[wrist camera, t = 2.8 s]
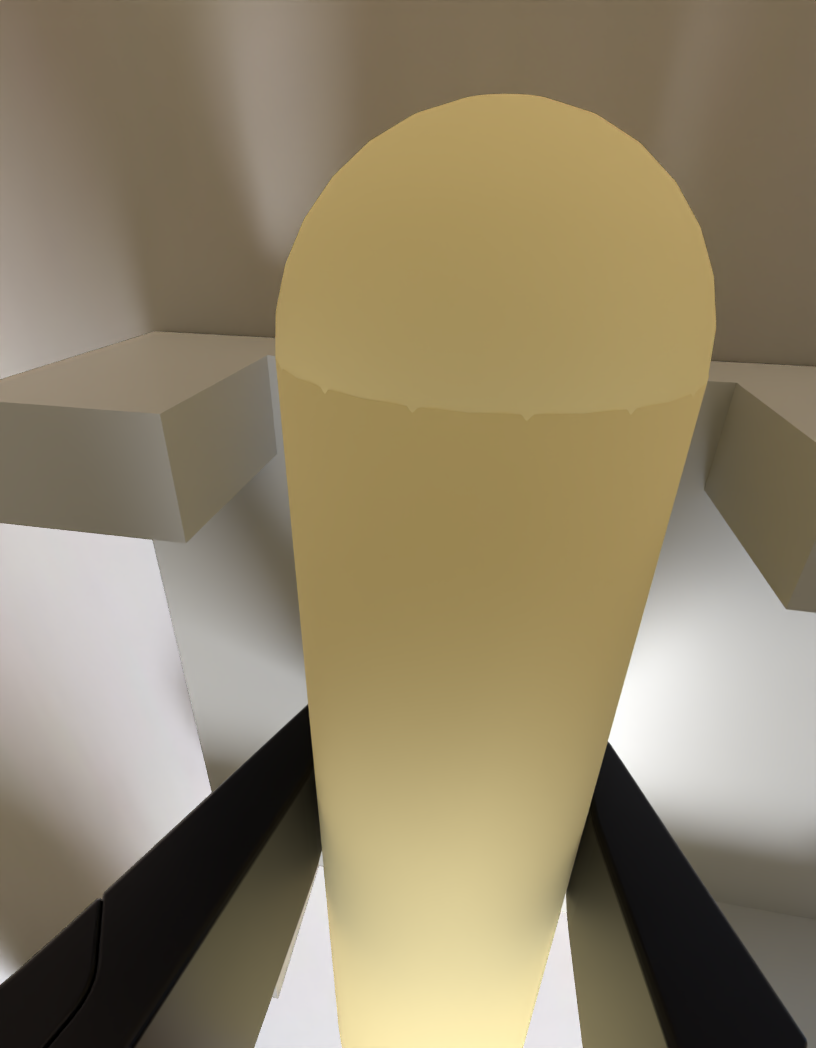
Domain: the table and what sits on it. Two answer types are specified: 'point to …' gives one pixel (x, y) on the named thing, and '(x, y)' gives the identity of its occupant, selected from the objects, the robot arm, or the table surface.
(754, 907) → the toy block layout
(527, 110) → the cream capsule cylinder
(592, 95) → the table surface
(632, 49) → the table surface
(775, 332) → the table surface
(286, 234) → the table surface
